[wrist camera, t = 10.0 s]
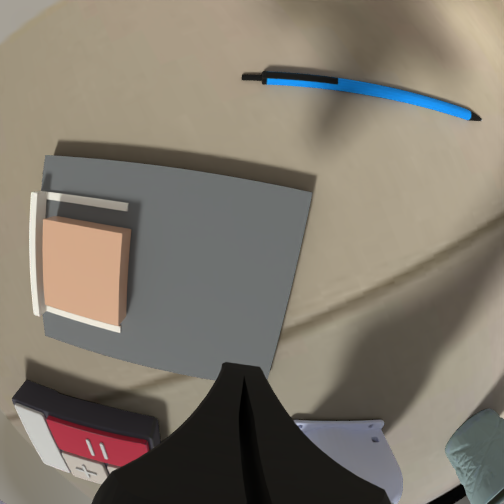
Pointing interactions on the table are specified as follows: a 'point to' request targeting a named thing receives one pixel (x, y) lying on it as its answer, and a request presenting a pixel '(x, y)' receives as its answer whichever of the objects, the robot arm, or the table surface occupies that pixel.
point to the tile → (86, 268)
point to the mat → (178, 261)
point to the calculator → (83, 432)
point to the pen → (361, 90)
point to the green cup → (480, 457)
